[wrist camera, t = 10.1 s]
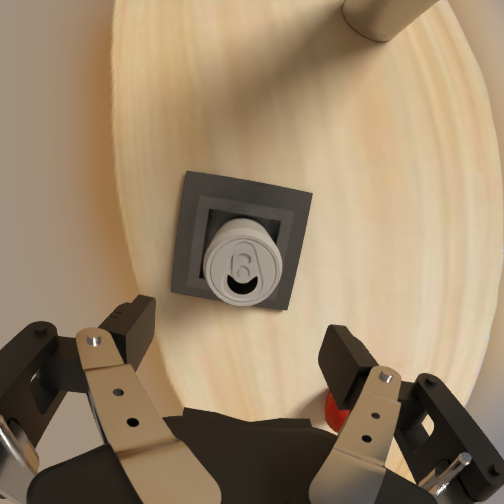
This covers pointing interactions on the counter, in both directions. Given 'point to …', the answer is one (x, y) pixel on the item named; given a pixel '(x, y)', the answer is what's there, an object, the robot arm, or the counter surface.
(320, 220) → the counter surface
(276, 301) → the grey square socket holder
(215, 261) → the beverage can
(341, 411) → the apple
